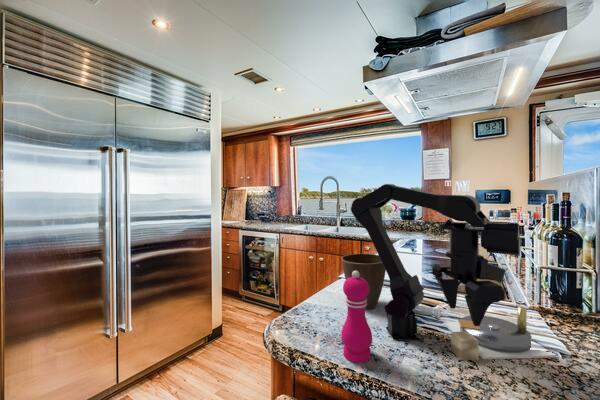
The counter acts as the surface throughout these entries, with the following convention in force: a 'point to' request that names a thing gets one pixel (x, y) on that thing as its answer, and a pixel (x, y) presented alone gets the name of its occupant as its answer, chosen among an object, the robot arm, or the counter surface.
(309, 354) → the counter surface
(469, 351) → the link block
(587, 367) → the counter surface
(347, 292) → the pepper mill
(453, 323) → the base board
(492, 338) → the crank wheel
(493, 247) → the robot arm
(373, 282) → the plant pot
